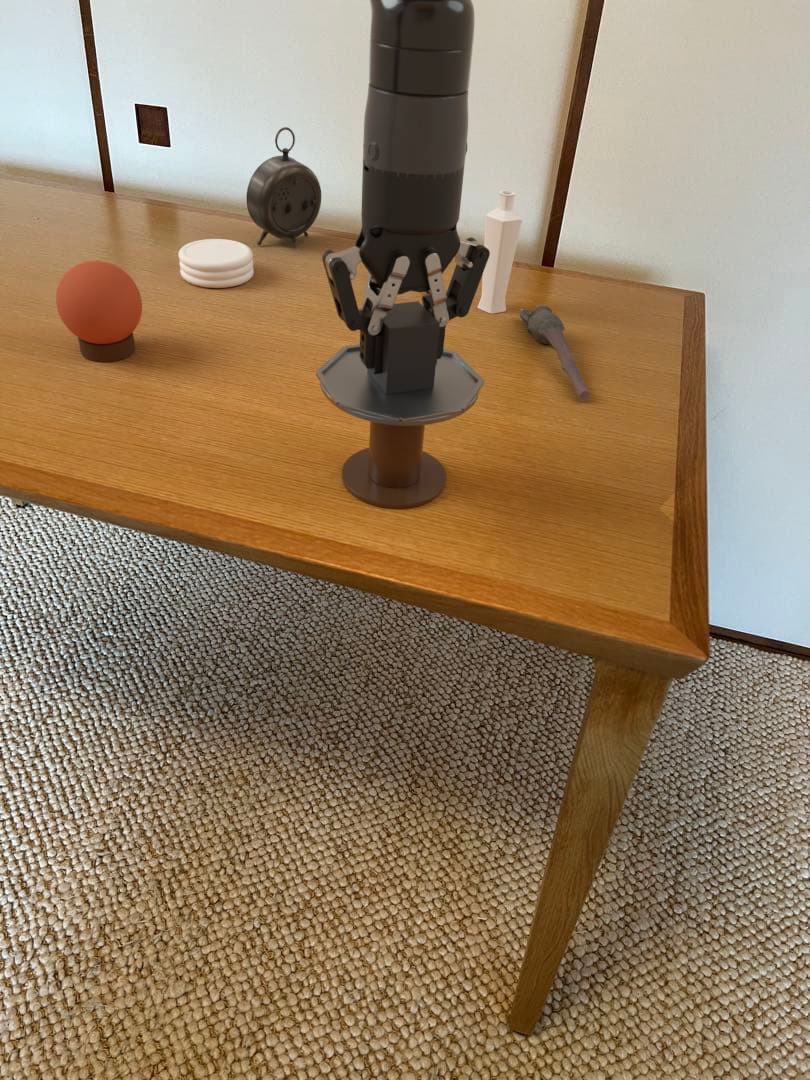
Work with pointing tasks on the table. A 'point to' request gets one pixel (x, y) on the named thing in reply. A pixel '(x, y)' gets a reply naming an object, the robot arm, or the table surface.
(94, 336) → the ball
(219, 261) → the coaster
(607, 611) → the table surface
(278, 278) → the table surface
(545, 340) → the natural artifact
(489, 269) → the perfume bottle
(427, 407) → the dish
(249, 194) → the alarm clock
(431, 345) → the block
